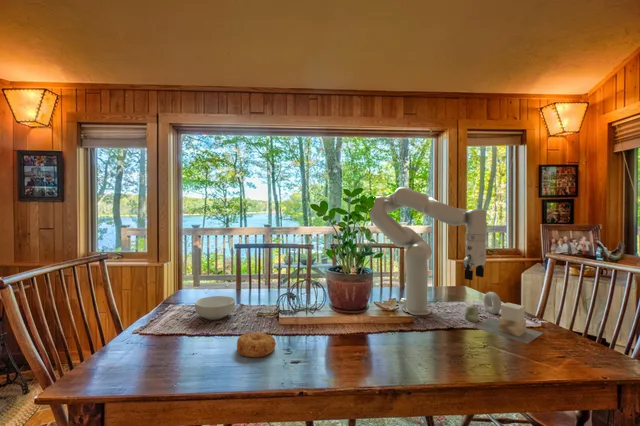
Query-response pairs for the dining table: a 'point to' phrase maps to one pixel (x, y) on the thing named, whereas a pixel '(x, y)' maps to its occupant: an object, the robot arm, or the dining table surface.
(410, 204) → the robot arm
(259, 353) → the bagel
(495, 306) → the donut
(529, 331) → the tile
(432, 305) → the dining table surface
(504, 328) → the base block
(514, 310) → the top block
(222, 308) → the cereal bowl
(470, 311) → the cylinder
